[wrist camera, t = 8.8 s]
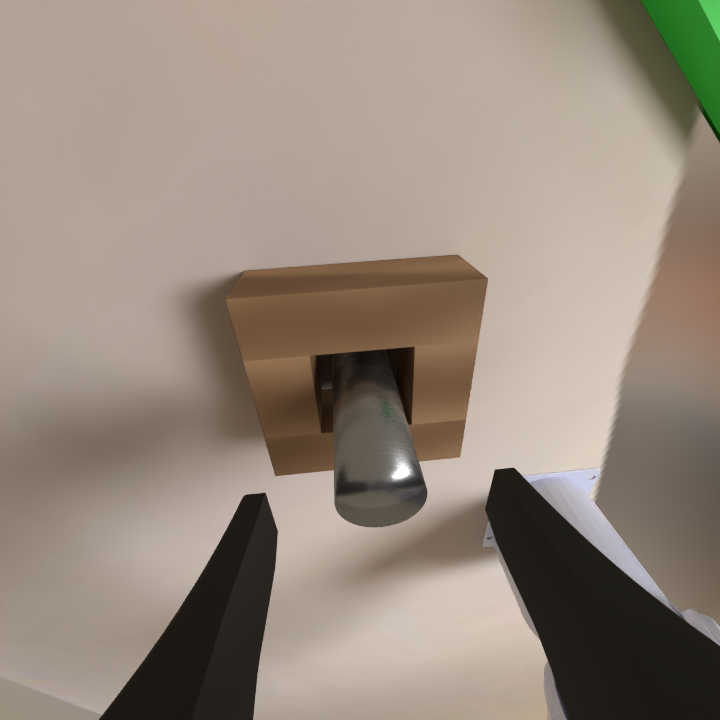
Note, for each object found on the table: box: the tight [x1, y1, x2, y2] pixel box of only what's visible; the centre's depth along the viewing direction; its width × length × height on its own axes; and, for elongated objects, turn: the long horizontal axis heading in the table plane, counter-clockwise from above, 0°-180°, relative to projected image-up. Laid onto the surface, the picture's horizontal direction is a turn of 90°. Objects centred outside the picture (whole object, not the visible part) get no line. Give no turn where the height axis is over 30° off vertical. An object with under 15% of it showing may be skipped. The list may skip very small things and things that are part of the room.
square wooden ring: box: [225, 255, 488, 476], centre depth 17 cm, size 10×10×4 cm
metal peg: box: [332, 349, 427, 527], centre depth 15 cm, size 3×3×9 cm
